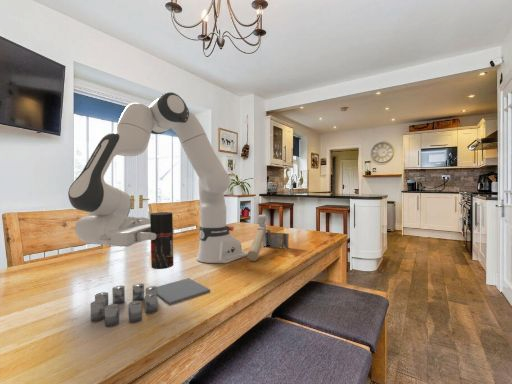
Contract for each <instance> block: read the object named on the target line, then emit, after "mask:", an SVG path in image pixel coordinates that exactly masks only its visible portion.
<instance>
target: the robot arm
mask: <svg viewBox="0 0 512 384" xmlns="http://www.w3.org/2000/svg"><path fill="white" fill-rule="evenodd" d="M117 122H118V123H117V125H116V127H115V130H114V131H113V132H109V133H107V134H105V135H104V136H103V137H102V138H101V139H100V140H99V142H98V143H97V146H96V147H95V148H94V150H93V152H92V153H91V156H90V157H89V159H88V161H87V162H86V164H85V166H84V168H83V169H82V170H81V172H80V174H79V175H78V176H77V178H76V179H75V180H73V182H72V184H71V185H70V186H69V189H68V193H67V195H68V200H69V202H70V205H71V207H72V208H74V209H75V210H78V211H83V212H87V214H86V215H85V216H82V217H80V218H79V219H77V221H76V223H75V225H74V232H75V234H76V236H77V238H78V239H79V240H81V241H82V242H84V243H87V244H88V243H89V244H93V245H99V246H101V245H102V246H104V245H108V246H113V247H125V248H126V247H131V246H133V245H134V244H137V243H140V242H144V241H151V240H155V239H158V233H157V232H151V225H150V218H148V217H147V216H140V217H138V216H137V217H135V216H129V213H130V211H131V207H132V199H131V196H130V195H129V194H128V193H127V192H124V191H123V190H122V189H119V188H118V187H115V186H112V185H111V184H108V183H106V182H105V179H104V177H105V175H106V172H107V171H108V169H109V168H110V166H111V163H112V162H113V159H114V158H115V157H116V156H122V157H136V156H140V155H142V154H143V153H144V152H146V150H147V148H148V146H149V142H150V138H151V136H152V135H161V134H164V133H166V131H168V130H170V129H171V130H172V131H173V132H174V133H175V135H176V136H177V137H178V139H179V142H180V145H181V147H182V149H183V151H184V154H185V155H186V158H187V159H188V162H189V163H190V165H191V166H192V168H193V170H194V171H195V173H196V175H197V176H198V195H199V198H198V199H199V207H200V209H199V211H200V214H199V215H200V217H199V219H200V221H199V222H200V224H199V227H198V228H199V230H198V233H199V235H198V236H199V247H198V252H197V256H196V260H197V261H198V262H202V263H207V264H217V263H218V264H227V263H230V262H233V261H236V260H238V259H241V258H245V257H248V256H247V255H248V253H247V251H244V250H243V246H242V243H241V241H240V240H239V239H237V238H236V237H235V236H233V235H232V234H231V233H230V231H231V232H234V230H235V227H234V226H232V225H230V226H228V225H227V206H226V200H225V192H226V191H227V190H228V189H229V187H230V185H231V178H230V175H229V174H228V172H227V171H226V169H225V168H224V165H223V163H221V160H220V159H219V157H218V156H217V154H216V153H215V150H214V149H213V147H212V144H211V142H210V139H209V138H208V136H207V133H206V132H205V130H204V127H203V126H202V124H201V122H200V121H199V119H198V117H196V115H195V114H194V113H192V112H190V110H189V108H188V106H187V104H186V102H185V101H184V99H183V98H182V97H181V96H180V95H178V94H177V93H175V92H167V93H166V92H165V93H163V94H161V95H160V96H159V97H158V98H157V99H155V100H154V101H153V102H152V103H151V104H150V105H149V106H146V104H143V103H139V102H132V103H130V104H128V105H127V106H126V107H125V108H124V110H123V112H122V113H121V115H120V118H119V119H118V121H117ZM174 233H175V232H174V228H173V234H174Z"/></svg>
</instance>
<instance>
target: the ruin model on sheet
mask: <svg viewBox="0 0 512 384" xmlns="http://www.w3.org/2000/svg"><path fill="white" fill-rule="evenodd" d="M267 245H270V246H269V248H273V247H281V248H280V249H282V248H289V233H285V232H274V231H273V232H272V230H271V229H267V228H266V246H267ZM267 247H268V246H267Z"/></svg>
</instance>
